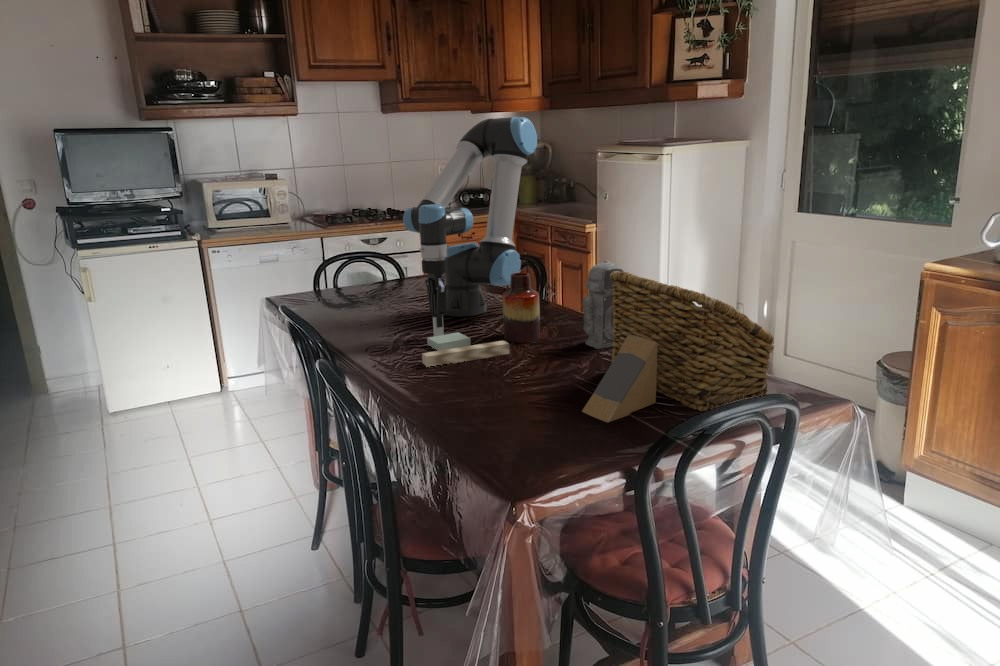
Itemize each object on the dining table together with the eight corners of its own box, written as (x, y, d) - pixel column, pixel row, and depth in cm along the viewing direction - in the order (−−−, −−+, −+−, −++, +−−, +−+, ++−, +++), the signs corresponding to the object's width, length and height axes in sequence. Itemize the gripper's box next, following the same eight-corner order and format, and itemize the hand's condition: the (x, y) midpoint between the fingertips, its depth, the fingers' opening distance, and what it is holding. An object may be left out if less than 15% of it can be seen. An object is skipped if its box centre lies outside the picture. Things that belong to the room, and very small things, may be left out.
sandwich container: (579, 412, 156) (578, 347, 152) (627, 396, 165) (628, 333, 161) (607, 424, 149) (607, 355, 145) (656, 406, 158) (657, 341, 154)
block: (458, 345, 213) (458, 332, 212) (471, 351, 206) (470, 338, 205) (428, 351, 208) (427, 337, 207) (439, 357, 201) (438, 343, 200)
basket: (790, 395, 161) (799, 278, 154) (703, 418, 150) (707, 293, 143) (683, 356, 192) (686, 257, 186) (604, 373, 181) (603, 268, 175)
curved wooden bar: (504, 354, 201) (503, 340, 200) (509, 357, 197) (509, 343, 196) (422, 367, 191) (421, 353, 190) (427, 371, 188) (426, 356, 187)
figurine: (635, 346, 203) (636, 259, 197) (595, 354, 197) (594, 265, 190) (614, 338, 212) (614, 255, 205) (574, 347, 205) (573, 260, 198)
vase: (547, 340, 213) (546, 272, 208) (523, 348, 205) (521, 279, 200) (520, 334, 220) (518, 269, 215) (496, 342, 212) (493, 275, 207)
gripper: (415, 257, 212) (420, 333, 218) (429, 262, 200) (433, 343, 206) (439, 254, 215) (443, 330, 221) (454, 260, 203) (458, 340, 209)
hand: (438, 337), depth 213 cm, fingers closed
